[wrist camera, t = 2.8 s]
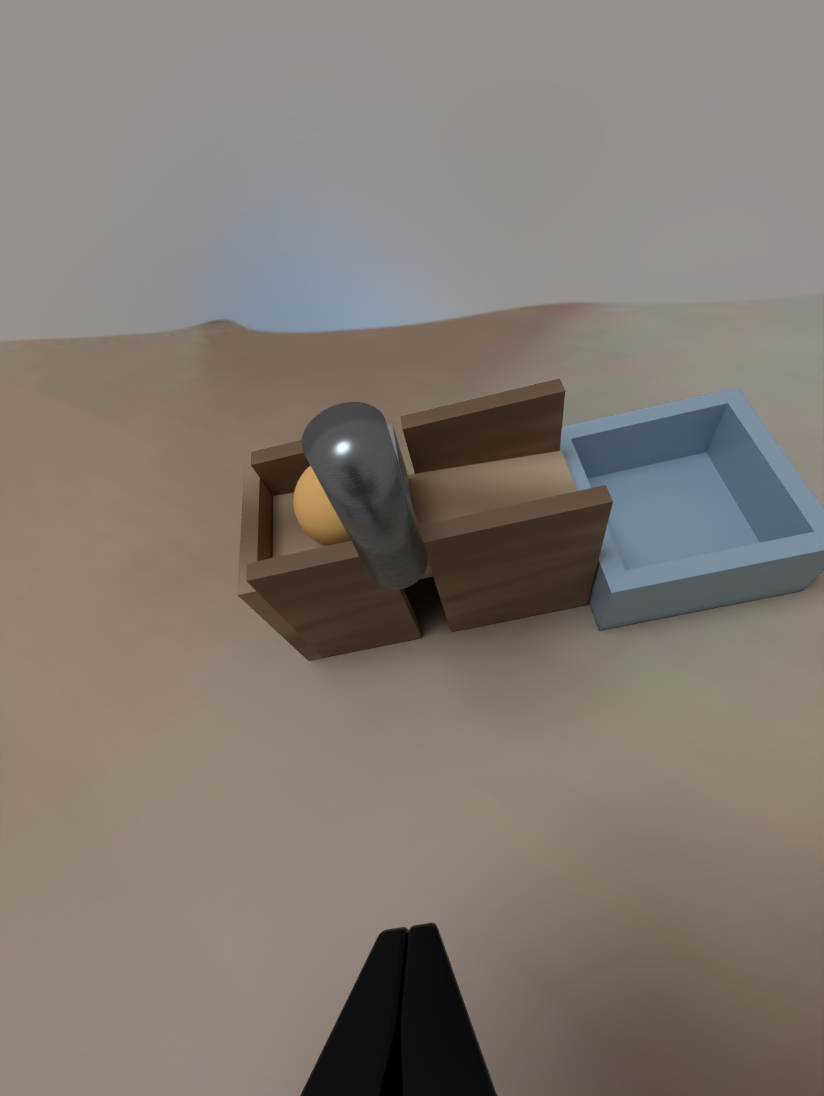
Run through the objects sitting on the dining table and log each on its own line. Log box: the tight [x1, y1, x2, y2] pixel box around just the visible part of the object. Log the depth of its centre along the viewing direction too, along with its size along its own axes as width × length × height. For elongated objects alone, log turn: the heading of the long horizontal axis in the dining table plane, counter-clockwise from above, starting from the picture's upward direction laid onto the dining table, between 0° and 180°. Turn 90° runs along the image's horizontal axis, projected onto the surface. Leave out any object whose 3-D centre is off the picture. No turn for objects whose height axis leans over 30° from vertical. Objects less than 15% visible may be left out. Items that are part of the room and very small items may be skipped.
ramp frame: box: [238, 379, 613, 661], centre depth 22 cm, size 6×13×8 cm, turn 98°
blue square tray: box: [560, 387, 824, 630], centre depth 23 cm, size 9×9×4 cm
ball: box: [293, 466, 351, 546], centre depth 20 cm, size 4×4×4 cm
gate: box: [301, 402, 428, 590], centre depth 16 cm, size 8×2×9 cm, turn 8°
